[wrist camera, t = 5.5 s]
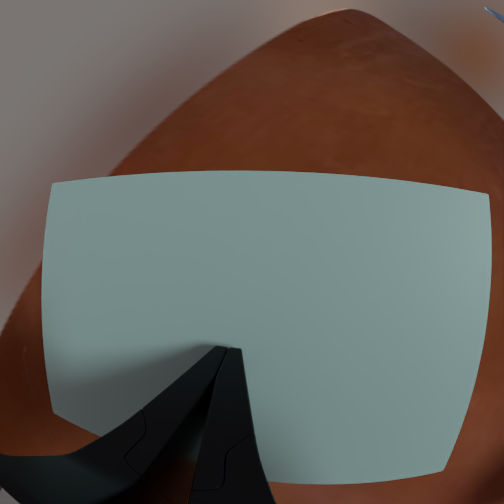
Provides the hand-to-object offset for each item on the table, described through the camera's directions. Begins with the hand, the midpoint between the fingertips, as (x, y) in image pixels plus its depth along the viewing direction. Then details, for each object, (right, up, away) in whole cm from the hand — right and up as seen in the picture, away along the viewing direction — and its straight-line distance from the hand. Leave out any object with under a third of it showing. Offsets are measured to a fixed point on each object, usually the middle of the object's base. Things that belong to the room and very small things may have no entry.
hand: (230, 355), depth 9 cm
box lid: (0, 0, +1) cm, 1 cm away
